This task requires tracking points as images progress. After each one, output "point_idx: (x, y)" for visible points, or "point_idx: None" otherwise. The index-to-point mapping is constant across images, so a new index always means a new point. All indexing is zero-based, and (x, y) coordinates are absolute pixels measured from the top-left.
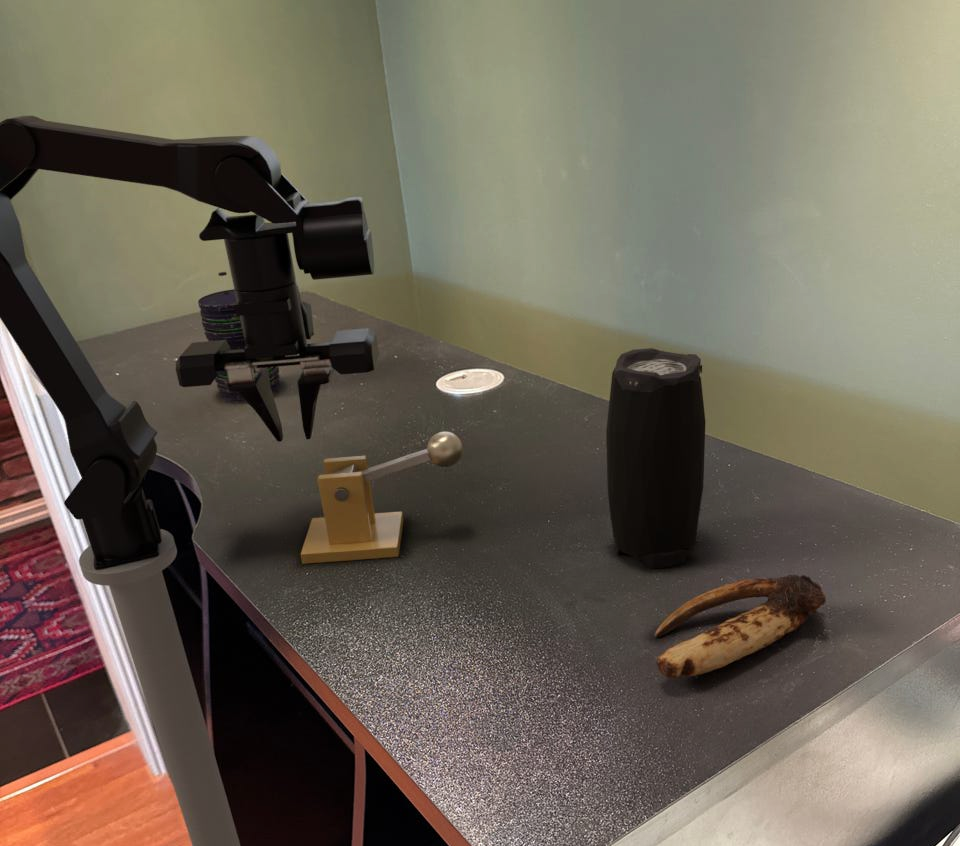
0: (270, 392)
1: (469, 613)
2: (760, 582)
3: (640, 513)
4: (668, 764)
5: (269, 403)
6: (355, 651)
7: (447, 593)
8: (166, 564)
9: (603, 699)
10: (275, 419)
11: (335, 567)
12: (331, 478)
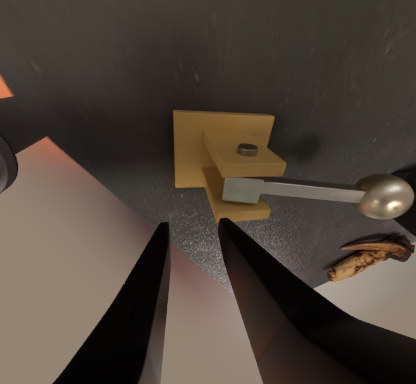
0: (152, 346)
1: (278, 235)
2: (397, 252)
3: (411, 233)
4: None
5: (160, 338)
6: (219, 259)
7: (273, 220)
8: (16, 168)
9: (303, 272)
10: (167, 283)
11: (204, 188)
12: (233, 221)
